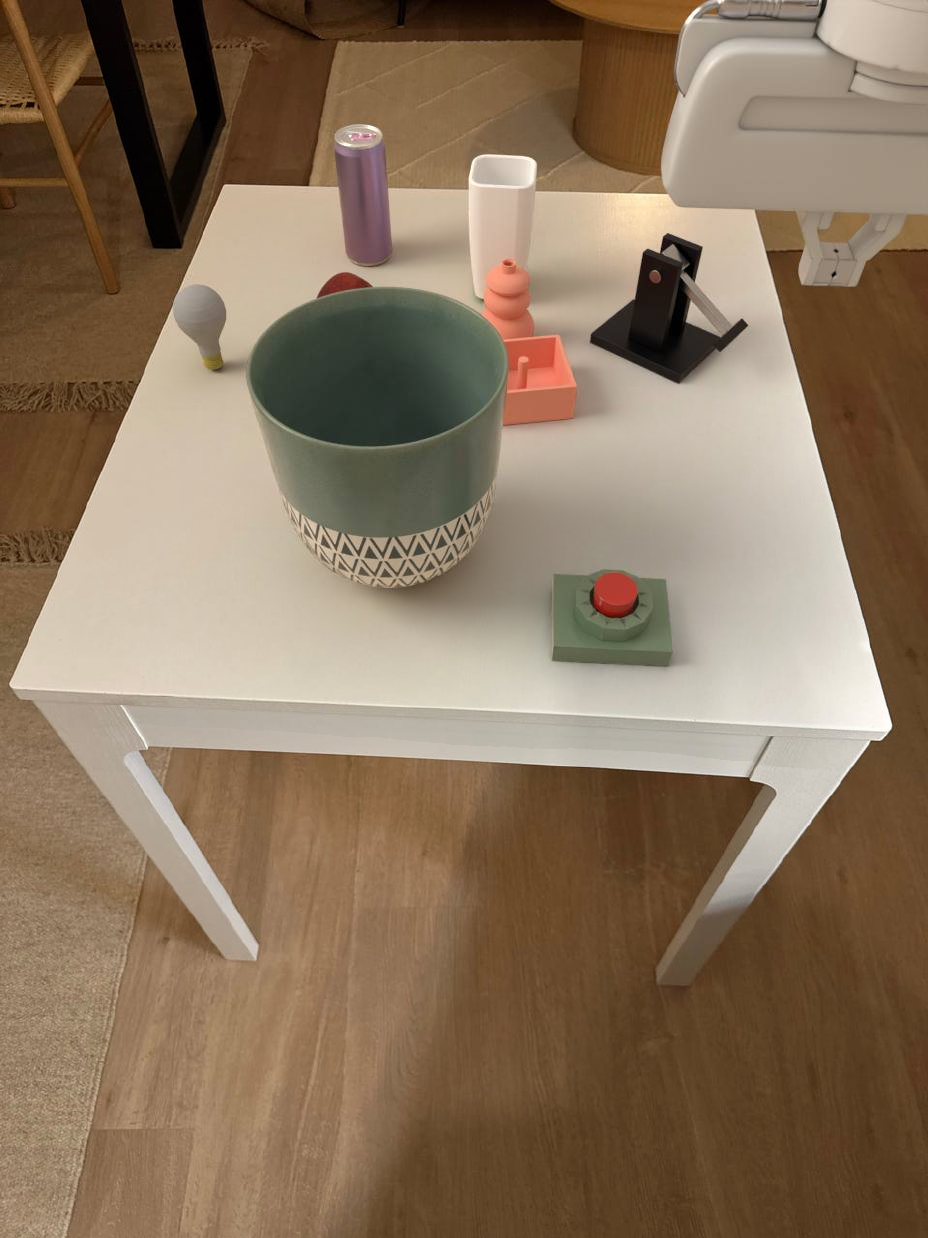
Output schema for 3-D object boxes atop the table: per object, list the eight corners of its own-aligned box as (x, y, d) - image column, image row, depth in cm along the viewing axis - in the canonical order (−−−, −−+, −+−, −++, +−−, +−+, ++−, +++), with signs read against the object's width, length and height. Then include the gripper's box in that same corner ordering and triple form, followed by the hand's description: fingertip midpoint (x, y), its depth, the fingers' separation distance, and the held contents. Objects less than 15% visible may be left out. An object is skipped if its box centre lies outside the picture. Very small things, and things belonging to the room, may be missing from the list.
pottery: (573, 418, 96) (582, 339, 88) (486, 426, 95) (488, 348, 88) (540, 320, 107) (546, 242, 99) (462, 327, 106) (461, 249, 98)
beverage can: (390, 268, 114) (382, 147, 102) (344, 267, 114) (330, 146, 102) (394, 243, 117) (386, 123, 106) (348, 242, 118) (335, 122, 106)
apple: (394, 347, 104) (389, 285, 97) (331, 365, 102) (322, 303, 95) (370, 313, 108) (364, 251, 102) (309, 330, 106) (299, 268, 100)
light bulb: (186, 359, 102) (163, 279, 95) (233, 348, 104) (214, 269, 96) (195, 387, 99) (171, 308, 91) (243, 376, 101) (224, 297, 93)
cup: (530, 276, 113) (538, 155, 101) (526, 309, 108) (534, 188, 97) (472, 272, 113) (473, 152, 101) (466, 306, 109) (467, 184, 97)
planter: (279, 635, 79) (228, 451, 62) (300, 478, 91) (262, 287, 74) (505, 631, 79) (516, 446, 62) (495, 475, 91) (502, 284, 74)
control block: (661, 594, 81) (669, 565, 78) (668, 666, 77) (677, 639, 73) (551, 589, 82) (555, 560, 79) (551, 661, 77) (555, 633, 74)
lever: (738, 334, 99) (752, 321, 97) (715, 355, 97) (729, 343, 95) (667, 252, 98) (679, 237, 96) (642, 271, 96) (655, 257, 94)
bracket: (719, 345, 104) (744, 250, 95) (678, 383, 100) (700, 288, 90) (631, 307, 109) (647, 213, 99) (589, 342, 104) (601, 247, 95)
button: (633, 586, 77) (636, 572, 76) (635, 618, 75) (639, 606, 74) (591, 583, 78) (594, 570, 76) (592, 616, 75) (595, 603, 74)
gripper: (694, 13, 37) (641, 306, 48) (1196, 25, 37) (1027, 320, 48) (681, -39, 41) (635, 243, 52) (1135, -29, 41) (992, 255, 52)
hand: (825, 280), depth 50 cm, fingers closed
